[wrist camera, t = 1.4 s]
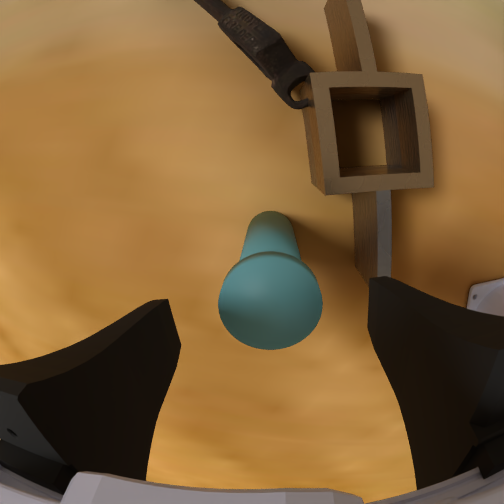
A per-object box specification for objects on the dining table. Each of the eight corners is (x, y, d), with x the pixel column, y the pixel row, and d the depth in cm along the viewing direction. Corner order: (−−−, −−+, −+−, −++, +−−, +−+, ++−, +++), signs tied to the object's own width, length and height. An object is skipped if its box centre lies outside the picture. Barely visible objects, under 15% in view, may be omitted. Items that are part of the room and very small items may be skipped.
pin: (301, 257, 21) (323, 344, 12) (245, 263, 21) (228, 353, 12) (296, 201, 20) (320, 253, 10) (237, 208, 20) (209, 265, 11)
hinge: (399, 260, 20) (428, 291, 16) (318, 270, 21) (331, 306, 16) (372, 10, 15) (397, -20, 10) (285, 10, 15) (289, -26, 11)
